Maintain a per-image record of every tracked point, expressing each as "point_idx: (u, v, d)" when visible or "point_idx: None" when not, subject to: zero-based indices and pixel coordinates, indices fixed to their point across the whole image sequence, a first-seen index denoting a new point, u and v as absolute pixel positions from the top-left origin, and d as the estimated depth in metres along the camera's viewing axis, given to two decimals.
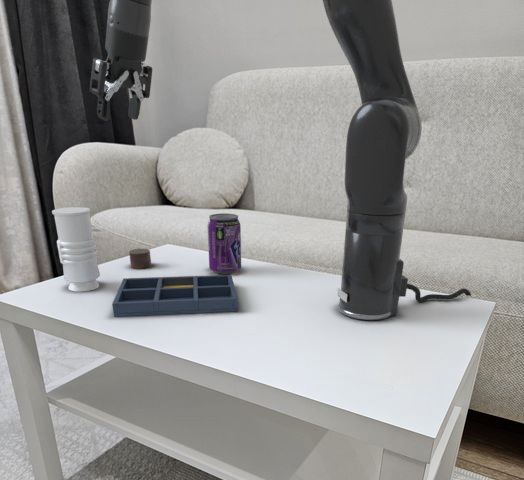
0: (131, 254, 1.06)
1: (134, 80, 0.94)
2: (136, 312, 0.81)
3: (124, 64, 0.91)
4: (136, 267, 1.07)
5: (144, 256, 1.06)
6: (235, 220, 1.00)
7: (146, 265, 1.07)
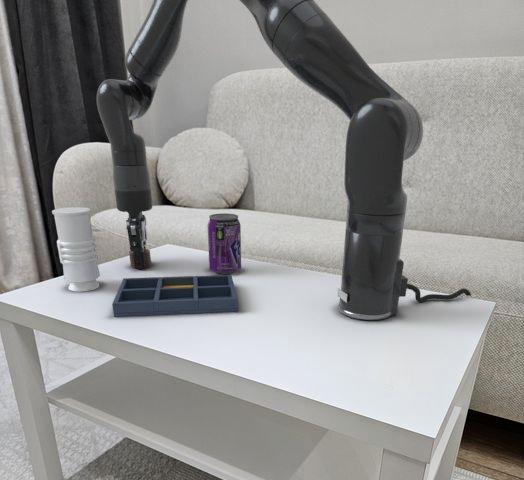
0: (131, 254, 1.06)
1: (145, 225, 1.06)
2: (136, 312, 0.81)
3: (140, 216, 1.03)
4: None
5: (144, 256, 1.06)
6: (235, 220, 1.00)
7: (146, 265, 1.07)
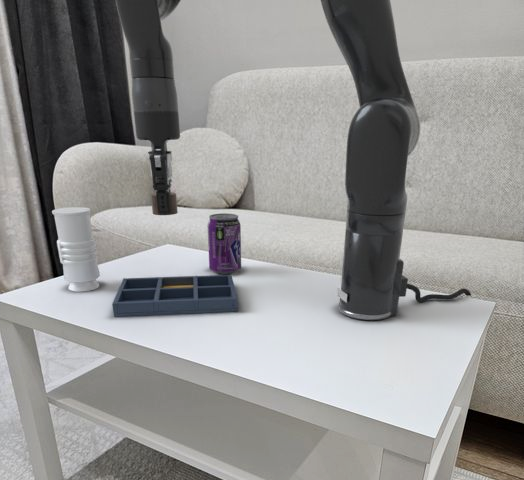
0: (153, 196, 0.86)
1: None
2: (136, 312, 0.81)
3: (165, 147, 0.83)
4: None
5: (169, 199, 0.86)
6: (235, 220, 1.00)
7: (172, 211, 0.87)
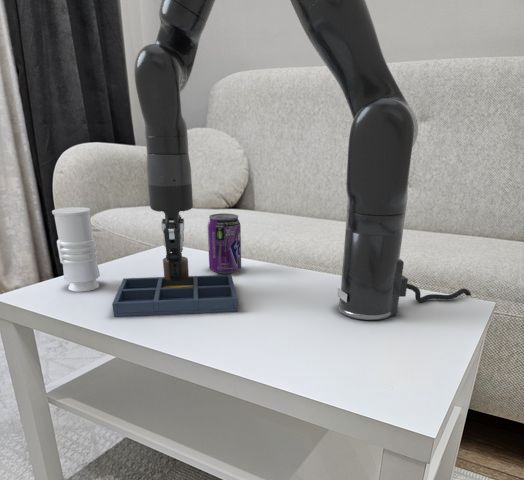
0: (166, 263, 0.87)
1: None
2: (136, 312, 0.81)
3: (178, 216, 0.84)
4: None
5: (181, 265, 0.87)
6: (235, 220, 1.00)
7: (183, 276, 0.89)
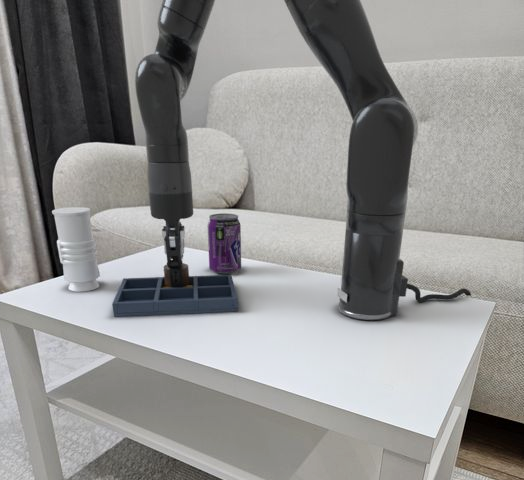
0: (166, 270, 0.88)
1: None
2: (136, 312, 0.81)
3: None
4: None
5: (182, 272, 0.88)
6: (235, 220, 1.00)
7: (184, 283, 0.89)
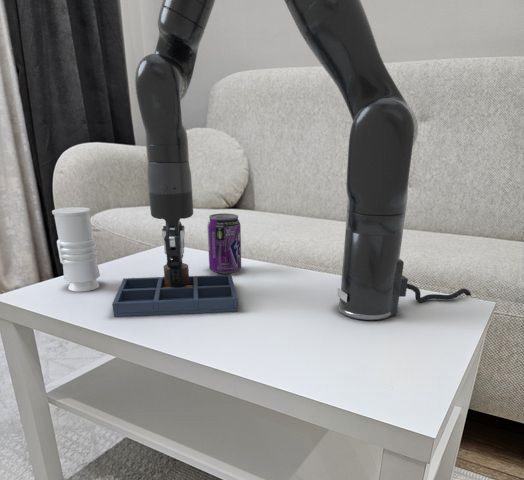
0: (166, 270, 0.88)
1: None
2: (136, 312, 0.81)
3: None
4: None
5: (182, 272, 0.88)
6: (235, 220, 1.00)
7: (184, 283, 0.89)
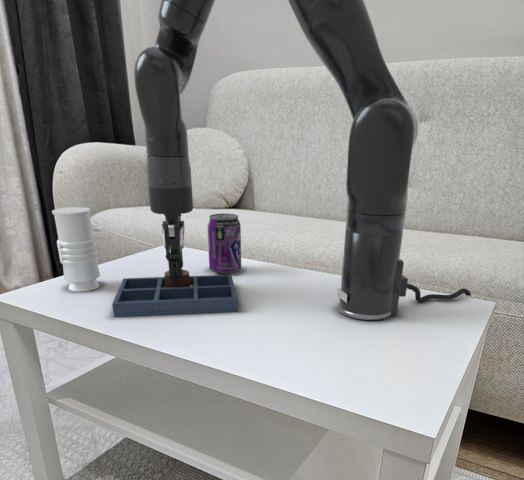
0: (167, 277, 0.88)
1: None
2: (136, 312, 0.81)
3: None
4: None
5: (183, 279, 0.88)
6: (235, 220, 1.00)
7: None
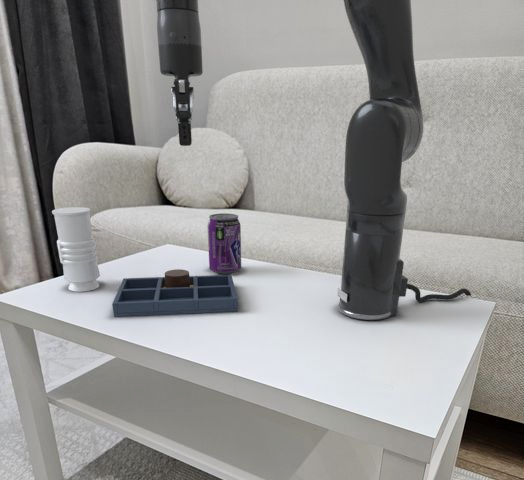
0: (167, 277, 0.88)
1: None
2: (136, 312, 0.81)
3: None
4: None
5: (183, 279, 0.88)
6: (235, 220, 1.00)
7: None
